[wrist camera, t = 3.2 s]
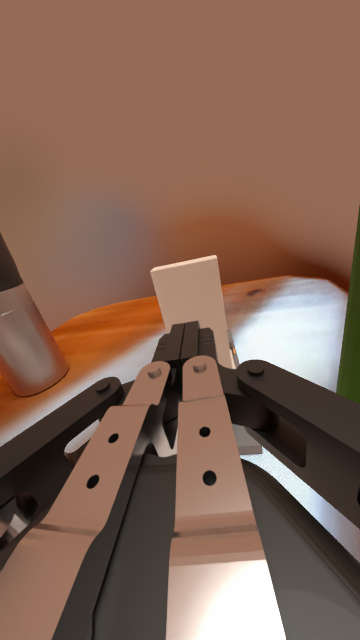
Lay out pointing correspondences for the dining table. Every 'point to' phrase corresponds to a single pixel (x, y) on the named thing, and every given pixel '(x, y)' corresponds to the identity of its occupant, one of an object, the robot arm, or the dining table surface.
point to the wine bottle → (352, 333)
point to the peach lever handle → (194, 300)
